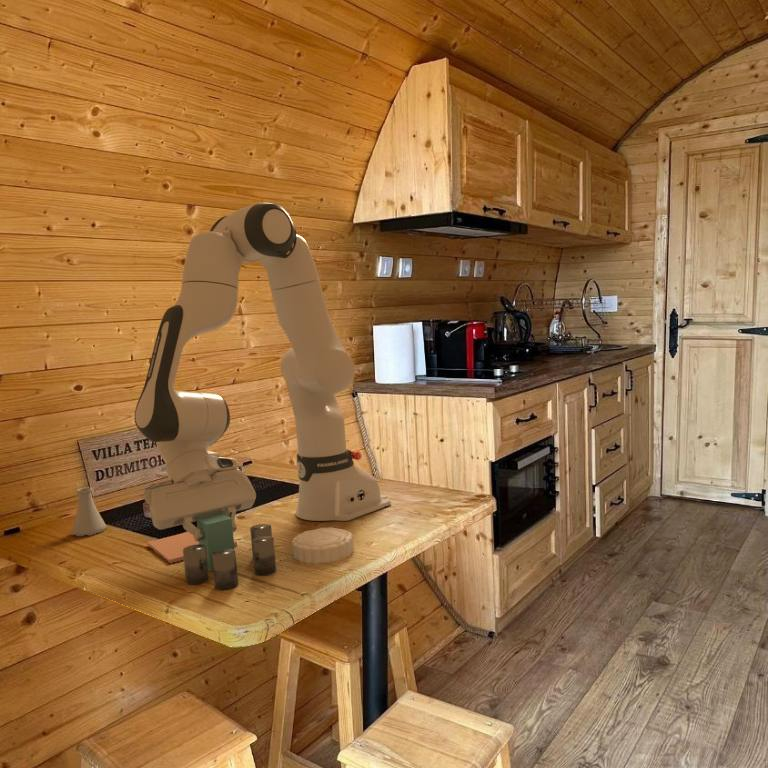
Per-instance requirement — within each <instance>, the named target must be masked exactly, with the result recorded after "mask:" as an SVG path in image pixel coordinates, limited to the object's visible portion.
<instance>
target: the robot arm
mask: <svg viewBox="0 0 768 768" xmlns="http://www.w3.org/2000/svg"><path fill="white" fill-rule="evenodd" d="M255 262H259V263H260V265H262V267H263V268H264V270H265V271H266V274H267V278H268V279H267V280H268V284H269V289H270V292H271V297H272V300H273V305H274V308H275V312H276V316H277V320H278V323H279V325H280V326H279V327H280V328H281V329H282V331H283V332H284V334H285V335H286V337H287V339H288V342H289V343H290V346H291V348H289V349H288V350H287V351H286V352H285V353H284V354H283V356H282V358H281V361H280V367H279V368H280V373H281V375H282V377H283V379H284V380H285V385H286V388H287V392H288V393H287V394H288V396H289V400H290V404H291V407H292V411H293V412H292V413H293V416H294V420H295V421H294V422H295V431H296V440H297V441H296V443H297V454H296V469H297V477H298V482H299V483H298V484H299V485H298V498H297V499H298V500H297V506H296V510H295V516H296V517H297V518H299V519H302V520H305V521H306V520H307V521H315V522H316V521H319V522H323V521H327V522H328V521H340V522H345V521H351V520H353V519H356V518H358V517H361V516H363V515H367V514H370V513H372V512H375V511H378V510H381V509H383V508H385V506H386V507H388V506H390V505H392V504H391V499H390V498H389V496H386V495H384V494H383V493H381V489H380V485H379V482H378V480H377V479H376V477H374V476H373V475H371V474H370V473H368V472H367V471H366V470H364V469H362V468H360V467H359V466H358V465H356V464H355V462H354V460H356V461H360V460H361V459H362V457H363V456H362V455H363V454H362V452H361V451H360V450H359V451H358V450H353V451H352V450H349V449H347V442H346V441H347V440H346V428H345V427H346V426H345V425H346V424H345V418H344V415H343V412H342V411H341V409H340V407H339V404H338V401H337V397H336V394H338V393H342V392H344V391H345V390H347V389H348V388H349V387H350V386H351V385H352V383H353V381H354V379H355V376H356V367H355V362H354V359H353V358H352V357H351V355H350V354H348V352H347V350H345V347H344V346H343V344H342V341H341V339H340V337H339V334H338V333H337V330H336V328H335V326H334V324H333V322H332V319H331V317H330V315H329V311H328V308H327V303H326V300H325V295H324V292H323V289H322V284H321V279H320V275H319V273H318V269H317V265H316V262H315V259H314V257H313V255H312V252H311V249H310V247H309V245H308V243H307V241H306V240H305V238H303V237H302V236H301V235H299V234H297V230H296V228H295V226H294V223H293V220H292V218H291V217H290V214H289V213H288V212H287V210H285V208H283V206H281V205H278V204H277V203H272V202H259V203H256V204H254V205H248V206H245V207H242V208H241V207H240V208H239V209H236V210H235V211H234V212H232V213H230V214H228V215H224V216H222V217H221V218H219V219H218V220H216V222H214V224H213V225H212V227H211V228H210V229H209V230H208V231H203V232H199V233H197V234H196V235H194V236H193V237H192V239H191V240H190V242H189V244H188V247H187V251H186V256H185V260H184V265H183V271H182V280H181V289H180V293H179V295H178V298H177V300H176V302H175V304H174V305H173V306H171V307H169V308H167V309H166V310H165V312H164V313H163V316H162V318H161V321H160V324H159V326H158V331H157V335H156V338H155V341H154V345H153V350H152V354H151V358H150V362H149V367H148V370H147V374H146V379H145V381H144V385H143V389H142V391H141V393H140V395H139V398H138V401H137V404H136V406H135V411H134V422H135V426H136V427H137V429H138V430H139V432H140V433H141V434H142V436H144V438H146V439H147V440H149V441H150V442H152V443H155V444H156V447H157V449H158V452H159V455H160V458H161V459H163V461H164V463H165V471H166V473H167V476H168V479H169V480H165V481H164V480H163V481H162V482H157V483H154V482H153V483H151V484H148V486H147V487H145V488H144V490H143V492H142V495H143V498H144V501H145V503H146V504H147V505H149V512H150V518H151V522H152V525H153V527H154V528H155V529H158V530H160V531H161V530H166V529H169V528H170V529H171V528H173V527H177V526H182V527H183V529H184V530H185V531H186V532H189V533H191V534H193V536H194V539H195V541H200V540H204V537H205V535H204V533H203V529H202V528H199V529H198V528H197V526H195V524H193V523H195V522H197V518H201V517H206V516H210V515H214V514H218V513H223V514H224V515H226V516H228V517H230V518H232V527H233V533H235V532H236V531H237V529H238V527H237V524H236V522H235V518H236V513H237V512H239V511H240V512H241V511H244V510H247V509H251V508H252V507H253V505H254V504H255V500H256V498H257V493H256V491H255V488H254V486H253V484H252V483H251V481H250V479H249V477H248V475H246V473H245V472H243V471H242V470H241V469H238V468H239V462H238V460H237V459H236V458H233V457H221V456H220V457H215V456H209V454H208V452H207V451H208V448H209V447H211V446H213V445H214V444H215V443H216V442H218V440H220V439H221V438H222V437H223V435H224V434H225V433H226V432H227V430H228V428H229V427H230V424H231V414H230V409H229V406H228V404H227V402H226V400H225V399H224V398H223V397H222V396H221V395H220V394H218V393H211V392H202V391H184V390H175V383H176V382H175V381H176V379H177V373H178V371H179V365H180V361H181V356H182V352H183V349H184V348H185V345H186V344H187V343H188V342H189V341H191V339H193V338H195V337H197V336H199V335H204V334H208V333H211V332H215V331H217V330H219V329H221V328H223V327H225V326H226V325H227V324H228V323H229V322H230V321H231V320H232V319H233V318H234V316H235V313H236V310H237V306H238V298H239V296H238V295H239V282H240V281H239V275H240V271H241V268H242V266H243V264H248V263H249V264H250V263H255Z"/></svg>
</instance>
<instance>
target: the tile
mask: <svg viewBox="0 0 768 768" xmlns="http://www.w3.org/2000/svg"><path fill="white" fill-rule="evenodd" d="M197 544H199V541H195V539H194V536H193V534H191V533H189V532H188V531H186V532H183V533H179V534H174V535H170V536H167V537H162V538H159V539H155V540H150V541H147V542H146V545H149V546H150V547H151V548H152V549H154V550H155V551H156V552H157V553H158V554H160V555H161V556H162V557H163V558H164V559H166V560H167V561H168V562H169V563H171V564H174V563H173V562H175V563H178V562H177V561H179V562H182V561H184V556H183V549H184V548H185V547H187V546H191V545H197ZM237 546H238V542H237V541H236V540H234V547H237ZM151 548H150V549H151ZM152 549H151V550H152ZM156 552H155V553H156ZM157 553H156V554H157ZM158 554H157V555H158ZM161 556H160V557H161ZM162 557H161V558H162ZM163 558H162V559H163ZM164 559H163V560H164ZM166 560H165V561H166ZM181 560H182V561H181ZM167 561H166V562H167ZM168 562H167V563H168ZM169 563H168V564H169Z"/></svg>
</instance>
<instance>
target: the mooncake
mask: <svg viewBox="0 0 768 768" xmlns="http://www.w3.org/2000/svg"><path fill="white" fill-rule="evenodd" d="M354 545H355V542H354V535H353V534H352V533H351V532H350V531H348V530H346V529H343V528H342V529H341V528H336V527H331V526H330V527H319V528H316V529H310V530H305V531H303V532H300V533H298V534H297V535H296V536H295V537H293V538H292V540H291V551H292V552H291V553H292V557H293V559H294V560H297V561H298V562H302V563H303V562H304V563H305V564H316V565H317V564H328V563H330V562H331V563H334V562H335V563H336V562H338V561H340V560H344V559H345V558H347V557H350V556H351V554H352V553H354V551H355V546H354Z"/></svg>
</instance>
